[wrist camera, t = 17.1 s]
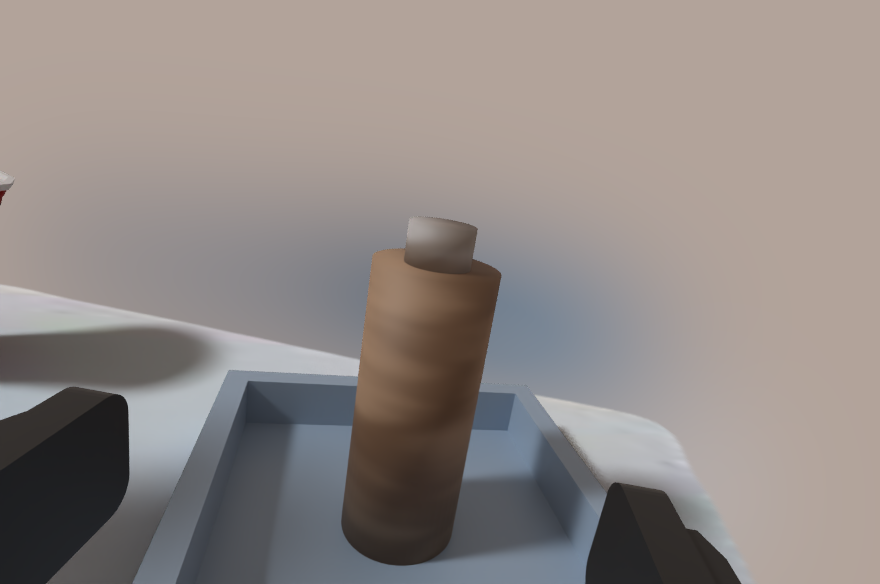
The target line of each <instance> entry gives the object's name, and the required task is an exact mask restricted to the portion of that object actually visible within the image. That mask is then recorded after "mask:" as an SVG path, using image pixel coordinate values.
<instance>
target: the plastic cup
mask: <svg viewBox="0 0 880 584" xmlns="http://www.w3.org/2000/svg"><path fill="white" fill-rule="evenodd" d="M14 180H15V178H14V177H12V176H11V175H9V174H7V173H5V172H3V171H0V205H1V201H2V197H3V196H4V194H5V192H6V190H9V188H10V187H11V186H12V185H13V183H14Z"/></svg>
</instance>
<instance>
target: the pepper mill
mask: <svg viewBox="0 0 880 584" xmlns="http://www.w3.org/2000/svg"><path fill="white" fill-rule="evenodd" d="M477 230H478V229H477V228H476V227H474V226H472V225H469V224H466V223H462V222H457V221H453V220H447V219H441V218H433V217H411V218H410V219H409V226H408V234H407V240H406V248H405V249H387V250H382V251H378V252H376V253H374V254H373V257H372V265H371V274H370V282H369V291H368V299H367V307H366V315H365V324H364V332H363V340H362V341H363V342H362V349H361V357H360V366H359V374H358V383H357V391H356V399H355V408H354V416H353V425H352V433H351V441H350V450H349V458H348V467H347V475H346V483H345V492H344V500H343V509H342V517H341V526H342V530H343V533H344V536H345V538H346V539H347V541H348V542H349V544H350V545H351V546H352V547H353V548H354V549H355V550H357V551H358V552H359V553H361V554H362V555H364V556H365V557H367V558H369V559H371V560H374V561H377V562H379V563H383V564H387V565H395V566H408V565H415V564H420V563H423V562H426V561H428V560H431V559H433V558H434V557H436V556H437V555H439V554H440V553H441V552H442V551H443V550H444V549H445V548H446V547H447V545H448V543H449V541H450V539H451V535H452V530H453V525H454V520H455V514H456V509H457V504H458V499H459V494H460V488H461V483H462V478H463V473H464V468H465V462H466V457H467V452H468V447H469V442H470V436H471V431H472V426H473V421H474V416H475V410H476V405H477V400H478V395H479V389H480V384H481V379H482V374H483V368H484V363H485V358H486V353H487V348H488V343H489V337H490V332H491V327H492V322H493V316H494V311H495V306H496V301H497V296H498V290H499V285H500V280H501V273H500V272H499V271H498V270H496V269H495V268H493V267H492V266H489V265H487V264H485V263H482V262H480V261H477V260H474V259H472V258H473V252H474V247H475V241H476V235H477Z"/></svg>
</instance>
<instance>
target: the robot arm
mask: <svg viewBox="0 0 880 584" xmlns="http://www.w3.org/2000/svg"><path fill="white" fill-rule="evenodd" d="M128 482H129V423H128V405H127V402H126V400H125V398H124V397H123V396H121V395H118V394H112V393H107V392H101V391H95V390H90V389H84V388H79V387H69V388H66V389H64V390H62V391H60V392H59V393H57V394H55V395H54V396H52V397H50V398H49V399H47V400H45V401H44V402H42V403H40V404H38V405H37V406H35V407H33V408H32V409H30V410H28V411H26V412H23V413H20V414H17V415H14V416H11V417H9V418H6V419H3V420H0V584H46V583H47V582H48V581H49V580H50V579H51V578H52V577H53V576H54V575H55V574H56V573H57V572H58V571H59V570H60V569H61V567H62V566H63V565H64V564H65V563H66V562H67V561H68V560H69V559H70V558H71V557H72V556H73V555H74V554H75V553H76V552H77V551H78V550H79V549H80V548H81V547H82V546H83V545H84V544H85V543H86V542H87V541H88V540H89V539H90V538H91V537H92V536H93V535H94V534H95V533H96V532H97V531H98V530H99V529H100V528H101V527H102V526H103V525H104V524H105V523H106V522H107V521H108V520H109V519H110V518H111V516H112V515H113V514H114V513H115V511H116V510H117V509H118V507H119V505H120V504H121V502H122V500H123V498H124V495H125V493H126V490H127V486H128ZM585 584H741V582H740V581H739V579H738V577H737V576H736V574H735V572H734V571H733V569H732V568H731V566H730V564H729V563H728V561H727V559H726V558H725V557H724V556H723V555H722V554H721V553H720V552H718V551H717V550H716V549H715V548H714V547H713V546H712V545H711V544H710V543H709V542H708V541H707V540H706V539H705V538H704V537H703V536H702V535H701V534H700V533H699V532H698V531H696V530H690V529H686V528H685V526H684V524H683V523H682V521H681V519H680V517H679V515H678V514H677V512H676V510H675V508H674V506H673V504H672V503H671V501H670V499H669V497H668V496H667V494H666V493H665V492H663V491H661V490H656V489H650V488H645V487H639V486H633V485H628V484H622V483H616V482H615V483H613V484H612V485H611V487H610V488H609V490H608V493H607V496H606V499H605V502H604V506H603V509H602V512H601V516H600V519H599V522H598V526H597V529H596V532H595V536H594V539H593V542H592V546H591V549H590V552H589V556H588V560H587V565H586V575H585Z"/></svg>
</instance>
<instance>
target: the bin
mask: <svg viewBox="0 0 880 584" xmlns="http://www.w3.org/2000/svg"><path fill="white" fill-rule="evenodd" d="M357 383H358V377H355V376H336V375H316V374H297V373H277V372H258V371H239V370H229V371H228V373H227V375H226V377H225V380H224V382H223V384H222V386H221V389H220V391H219V393H218V395H217V397H216V400H215V402H214V404H213V406H212V408H211V411H210V413H209V415H208V417H207V419H206V422H205V424H204V426H203V428H202V430H201V433H200V435H199V437H198V439H197V442H196V444H195V446H194V448H193V450H192V453H191V455H190V457H189V459H188V461H187V464H186V466H185V468H184V470H183V472H182V475H181V477H180V479H179V481H178V483H177V486H176V488H175V490H174V492H173V494H172V497H171V499H170V501H169V503H168V506H167V508H166V510H165V512H164V514H163V517H162V519H161V521H160V523H159V525H158V528H157V530H156V532H155V534H154V536H153V539H152V541H151V543H150V545H149V547H148V550H147V552H146V554H145V556H144V559H143V561H142V563H141V565H140V567H139V570H138V572H137V574H136V576H135V578H134V581H133V583H132V584H585V575H586V565H587V560H588V556H589V552H590V549H591V546H592V542H593V539H594V536H595V532H596V529H597V526H598V522H599V519H600V516H601V512H602V509H603V506H604V502H605V499H606V496H607V493H606V491H605V490H604V489H603V487H602V486H601V485H600V483H599V482H598V481H597V479H596V478H595V477H594V475H593V474H592V473H591V471H590V470H589V468H588V467H587V466H586V464H585V463H584V462H583V460H582V459H581V458H580V456H579V455H578V454H577V452H576V451H575V450H574V448H573V447H572V446H571V444H570V443H569V442H568V440H567V439H566V438H565V436H564V435H563V433H562V432H561V431H560V429H559V428H558V427H557V425H556V424H555V423H554V421H553V420H552V419H551V417H550V416H549V415H548V413H547V412H546V411H545V409H544V408H543V407H542V405H541V404H540V403H539V401H538V400H537V398H536V397H535V396H534V394H533V393H532V392H531V390H530V389H529V388H528V386H527V385H509V384H490V383H481V384H480V389H479V395H478V400H477V405H476V410H475V416H474V421H473V426H472V431H471V436H470V442H469V447H468V452H467V457H466V462H465V468H464V473H463V478H462V483H461V488H460V494H459V499H458V504H457V509H456V514H455V520H454V525H453V530H452V535H451V539H450V541H449V543H448V545H447V547H446V548H445V549H444V550H443V551H442V552H441V553H440V554H439V555H437V556H436V557H434V558H433V559H431V560H428V561H426V562H423V563H420V564H415V565H408V566H395V565H387V564H383V563H379V562H377V561H374V560H371V559H369V558H367V557H365V556H364V555H362V554H361V553H359V552H358V551H357V550H355V549H354V548H353V547H352V546H351V545H350V544H349V542H348V541H347V539H346V538H345V536H344V533H343V530H342V526H341V517H342V509H343V500H344V492H345V483H346V475H347V467H348V458H349V450H350V441H351V433H352V425H353V416H354V408H355V399H356V391H357Z"/></svg>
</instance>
